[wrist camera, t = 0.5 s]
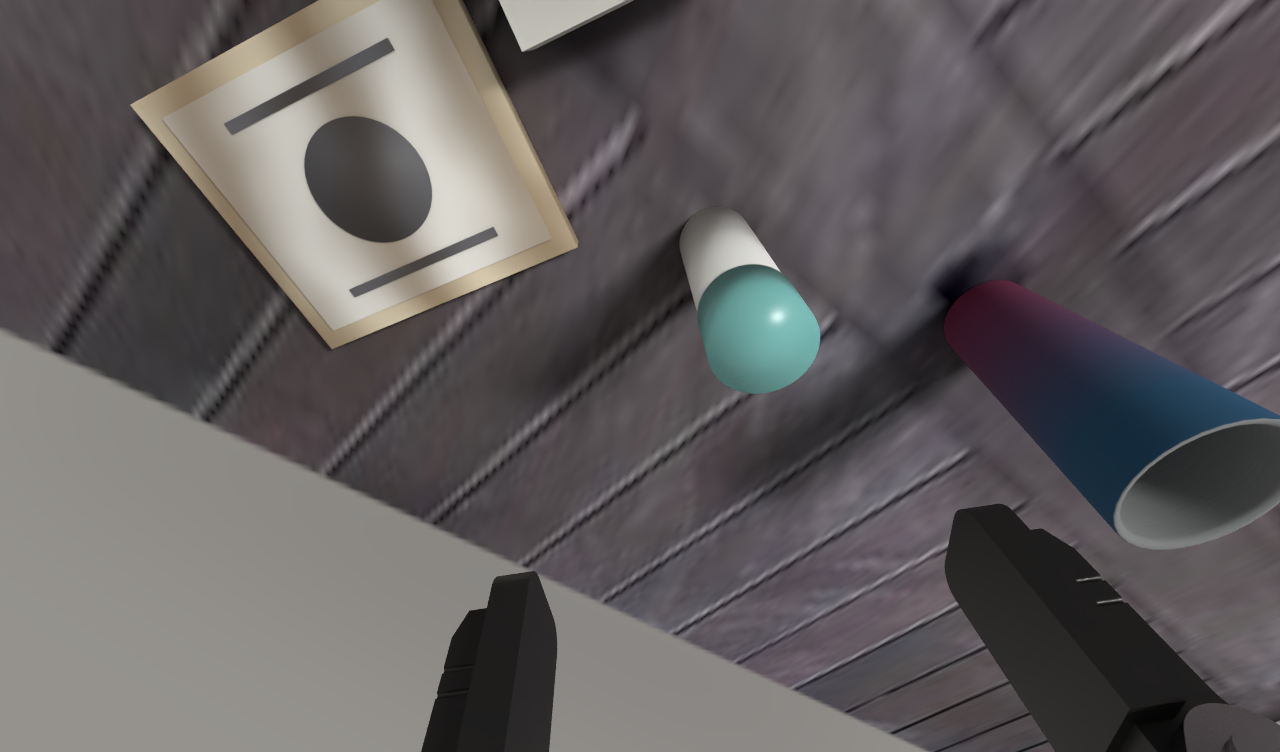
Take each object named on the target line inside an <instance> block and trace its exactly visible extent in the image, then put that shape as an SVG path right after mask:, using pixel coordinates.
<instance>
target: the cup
mask: <svg viewBox="0 0 1280 752" xmlns="http://www.w3.org/2000/svg"><path fill="white" fill-rule="evenodd" d="M944 336H945V339H946V341H947V342H948V344H949V345H950V346H951V347H952V349H953V350H954V351H955V352H956V353H957V354H958V355H959V356H960V358H961V359H962V360H963V361H964V362H965V363H966V364H967V365H968V367H969V368H970V369H971V370H972V371H973V372H974V373H975V374H976V376H977V377H978V378H979V379H980V380H981V381H982V382H983V383H984V385H985V386H986V387H987V388H988V389H989V390H990V391H991V392H992V394H993V395H994V396H995V397H996V398H997V399H998V400H999V401H1000V403H1001V404H1002V405H1003V406H1004V407H1005V408H1006V409H1007V410H1008V412H1009V413H1010V414H1011V415H1012V416H1013V417H1014V418H1015V419H1016V421H1017V422H1018V423H1019V424H1020V425H1021V426H1022V427H1023V428H1024V430H1025V431H1026V432H1027V433H1028V434H1029V435H1030V436H1031V437H1032V439H1033V440H1034V441H1035V442H1036V443H1037V444H1038V445H1039V446H1040V448H1041V449H1042V450H1043V451H1044V452H1045V453H1046V454H1047V455H1048V457H1049V458H1050V459H1051V460H1052V461H1053V462H1054V463H1055V464H1056V466H1057V467H1058V468H1059V469H1060V470H1061V471H1062V472H1063V473H1064V475H1065V476H1066V477H1067V478H1068V479H1069V480H1070V481H1071V482H1072V484H1073V485H1074V486H1075V487H1076V488H1077V489H1078V490H1079V491H1080V493H1081V494H1082V495H1083V496H1084V497H1085V498H1086V499H1087V500H1088V502H1089V503H1090V504H1091V505H1092V506H1093V507H1094V508H1095V509H1096V511H1097V512H1098V513H1099V514H1100V515H1101V516H1102V517H1103V518H1104V520H1105V521H1106V522H1107V523H1108V524H1109V525H1110V526H1111V527H1112V529H1113V530H1114V531H1115V532H1116V533H1117V534H1118V535H1119V536H1120V537H1121V538H1122V539H1123V540H1124V541H1126V542H1128V543H1130V544H1132V545H1135V546H1137V547H1142V548H1147V549H1159V550H1166V549H1177V548H1184V547H1188V546H1193V545H1198V544H1201V543H1204V542H1208V541H1211V540H1214V539H1217V538H1219V537H1222V536H1224V535H1227V534H1229V533H1231V532H1234V531H1236V530H1238V529H1240V528H1242V527H1243V526H1245V525H1247V524H1249V523H1251V522H1253V521H1254V520H1256V519H1257V518H1259V517H1261V516H1262V515H1264V514H1265V513H1267V512H1268V511H1270V510H1271V509H1272V508H1273V507H1275V506H1276V505H1277V504H1278V503H1280V416H1279V415H1277V414H1275V413H1273V412H1271V411H1269V410H1267V409H1265V408H1263V407H1261V406H1259V405H1257V404H1255V403H1253V402H1251V401H1249V400H1247V399H1245V398H1243V397H1241V396H1239V395H1237V394H1235V393H1233V392H1231V391H1229V390H1227V389H1225V388H1223V387H1221V386H1219V385H1217V384H1215V383H1213V382H1211V381H1209V380H1207V379H1205V378H1203V377H1201V376H1199V375H1197V374H1195V373H1193V372H1191V371H1189V370H1187V369H1185V368H1183V367H1181V366H1180V365H1178V364H1176V363H1174V362H1172V361H1170V360H1168V359H1166V358H1164V357H1162V356H1160V355H1158V354H1156V353H1154V352H1152V351H1150V350H1148V349H1146V348H1144V347H1142V346H1140V345H1138V344H1136V343H1134V342H1132V341H1130V340H1128V339H1126V338H1124V337H1122V336H1120V335H1118V334H1116V333H1114V332H1112V331H1110V330H1108V329H1106V328H1104V327H1102V326H1100V325H1098V324H1096V323H1094V322H1092V321H1090V320H1088V319H1086V318H1084V317H1082V316H1080V315H1078V314H1076V313H1074V312H1072V311H1070V310H1068V309H1066V308H1064V307H1062V306H1060V305H1058V304H1056V303H1054V302H1052V301H1050V300H1048V299H1046V298H1044V297H1042V296H1040V295H1038V294H1036V293H1034V292H1032V291H1030V290H1028V289H1026V288H1024V287H1022V286H1020V285H1018V284H1016V283H1014V282H1011V281H1007V280H993V281H988V282H985V283H981V284H979V285H977V286H975V287H973V288H971V289H970V290H968V291H966V292H965V293H964V294H963V295H962V296H960V297H959V298H958V299H957V300H956V301H955V303H954V304H953V305H952V307H951V308H950V310H949V311H948V313H947V316H946V318H945V322H944Z"/></svg>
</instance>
